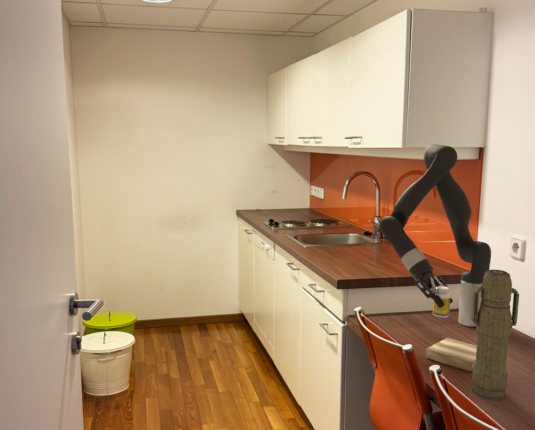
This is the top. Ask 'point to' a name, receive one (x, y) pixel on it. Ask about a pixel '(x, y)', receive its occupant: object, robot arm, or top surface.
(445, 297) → the supplement bottle
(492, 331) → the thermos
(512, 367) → the top surface
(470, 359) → the base board
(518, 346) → the top surface
